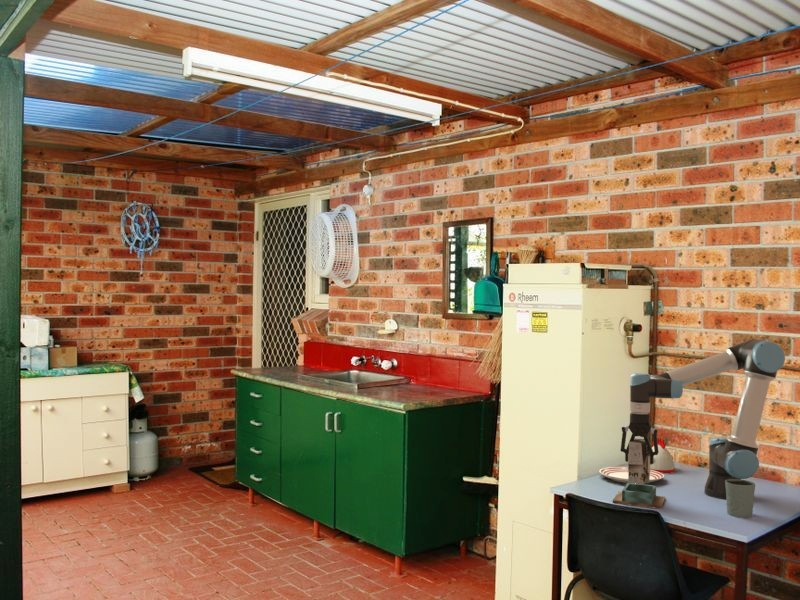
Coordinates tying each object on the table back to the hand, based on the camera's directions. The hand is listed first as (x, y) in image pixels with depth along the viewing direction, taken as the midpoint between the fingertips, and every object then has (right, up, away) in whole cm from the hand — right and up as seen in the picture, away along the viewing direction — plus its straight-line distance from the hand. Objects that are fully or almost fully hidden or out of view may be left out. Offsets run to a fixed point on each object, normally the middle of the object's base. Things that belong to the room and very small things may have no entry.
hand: (639, 471), depth 291 cm
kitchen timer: (+27, -12, +54) cm, 61 cm away
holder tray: (0, -12, 0) cm, 12 cm away
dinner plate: (+8, -12, +36) cm, 39 cm away
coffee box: (0, -4, 0) cm, 4 cm away
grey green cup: (+32, -12, -17) cm, 38 cm away
